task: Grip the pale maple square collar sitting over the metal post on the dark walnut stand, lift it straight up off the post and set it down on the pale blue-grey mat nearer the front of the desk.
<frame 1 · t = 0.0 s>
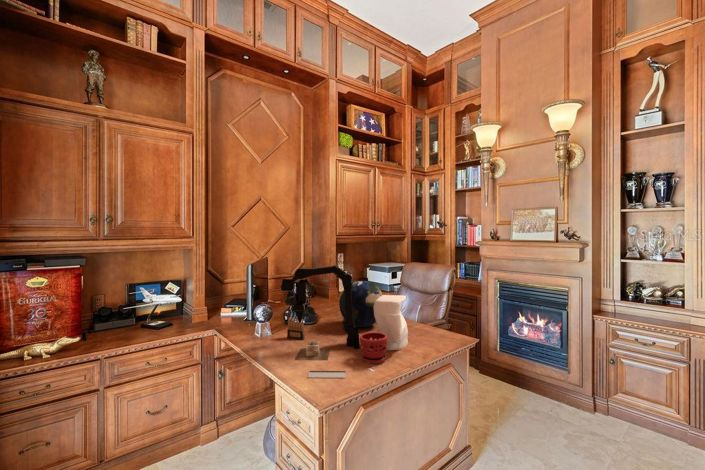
hand: (301, 319, 178), 15 cm above the table, tool pointing down, fingers open, 9 cm apart
collar: (313, 353, 165), point 1 cm above the table, touching post stand
globe: (362, 326, 217), on the table
ammunition clip: (295, 338, 192), on the table
mat: (327, 371, 147), on the table
plant pot: (373, 360, 160), on the table
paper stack: (388, 346, 179), on the table
post stand: (313, 355, 165), on the table
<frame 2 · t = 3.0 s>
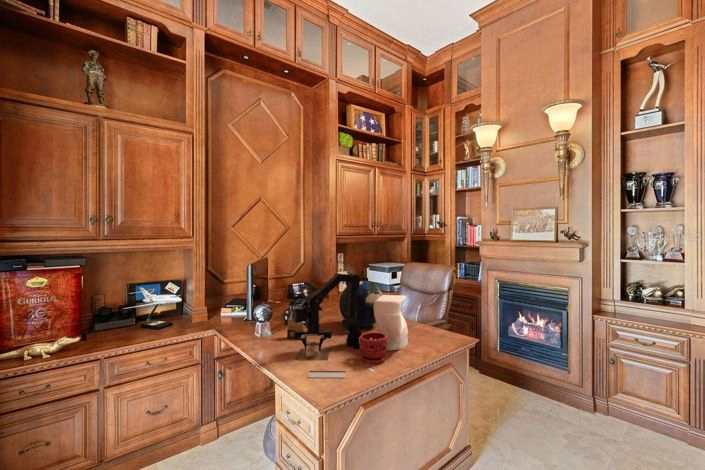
hand: (313, 350, 165), 3 cm above the table, tool pointing down, fingers closed on collar, 6 cm apart
collar: (313, 353, 165), point 1 cm above the table, touching gripper, post stand
everything else where it was.
when the fingers open (3 cm above the table, at t = 9.0 s): collar drops 2 cm, resting on mat.
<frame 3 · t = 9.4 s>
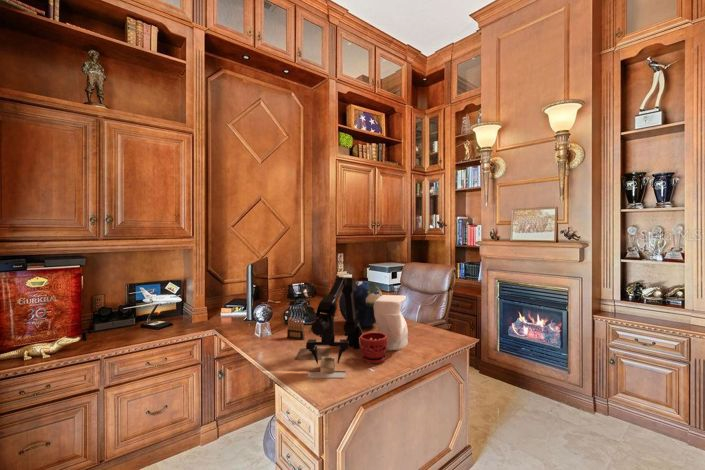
hand: (327, 363, 147), 3 cm above the table, tool pointing down, fingers open, 9 cm apart
collar: (327, 370, 147), resting on mat
everything else where it was.
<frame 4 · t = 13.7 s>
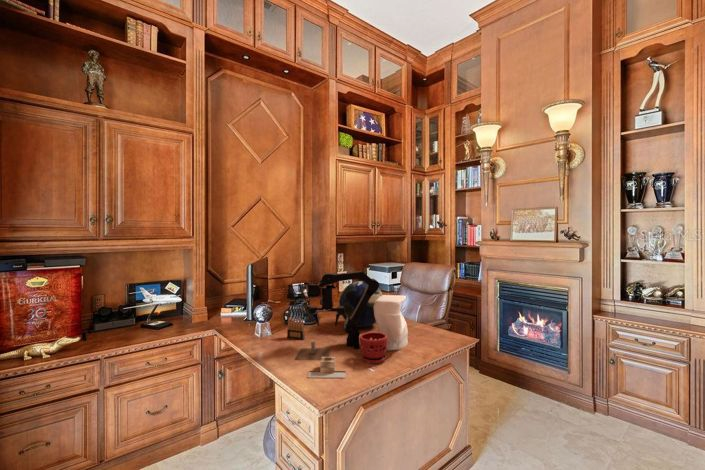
hand: (327, 325, 176), 12 cm above the table, tool pointing down, fingers open, 9 cm apart
nothing on the table moved.
at the end: collar 0.0 cm from the mat (horizontally); collar touching mat; the gripper is holding nothing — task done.
